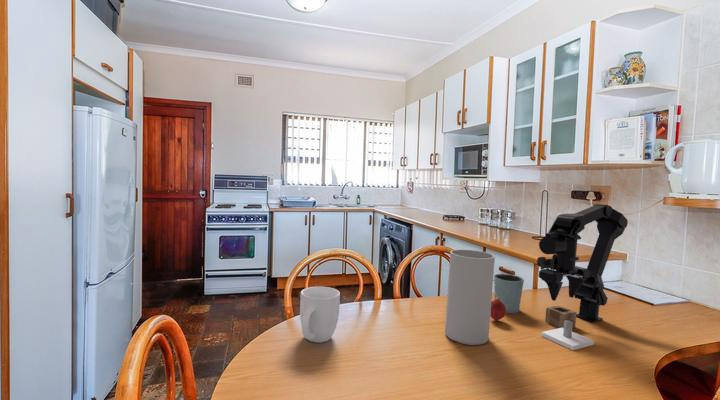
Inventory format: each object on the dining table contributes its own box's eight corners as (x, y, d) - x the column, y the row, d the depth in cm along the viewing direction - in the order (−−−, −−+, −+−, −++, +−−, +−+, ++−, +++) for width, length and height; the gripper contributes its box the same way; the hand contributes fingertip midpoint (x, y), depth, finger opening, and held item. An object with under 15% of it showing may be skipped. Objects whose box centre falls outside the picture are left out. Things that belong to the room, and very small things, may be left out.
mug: (323, 356, 93) (325, 305, 92) (284, 348, 96) (286, 299, 95) (343, 333, 107) (345, 289, 106) (309, 327, 110) (311, 284, 109)
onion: (506, 325, 120) (508, 301, 119) (488, 322, 121) (490, 299, 120) (503, 318, 125) (505, 295, 125) (485, 316, 127) (487, 293, 126)
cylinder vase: (458, 324, 118) (463, 248, 116) (495, 338, 109) (502, 255, 108) (436, 335, 109) (442, 252, 108) (475, 350, 100) (481, 260, 99)
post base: (561, 331, 117) (563, 313, 117) (593, 344, 108) (595, 325, 108) (541, 335, 113) (542, 317, 112) (572, 350, 104) (574, 330, 103)
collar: (557, 319, 127) (558, 305, 127) (575, 326, 122) (576, 311, 121) (545, 322, 124) (546, 307, 124) (562, 329, 119) (564, 314, 118)
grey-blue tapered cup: (523, 308, 137) (525, 277, 136) (518, 316, 128) (521, 282, 128) (495, 302, 142) (497, 272, 142) (488, 309, 134) (491, 277, 133)
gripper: (561, 246, 133) (557, 289, 134) (526, 249, 124) (522, 294, 125) (592, 253, 123) (588, 298, 124) (557, 256, 115) (552, 305, 116)
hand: (562, 298), depth 123 cm, fingers open, 9 cm apart
